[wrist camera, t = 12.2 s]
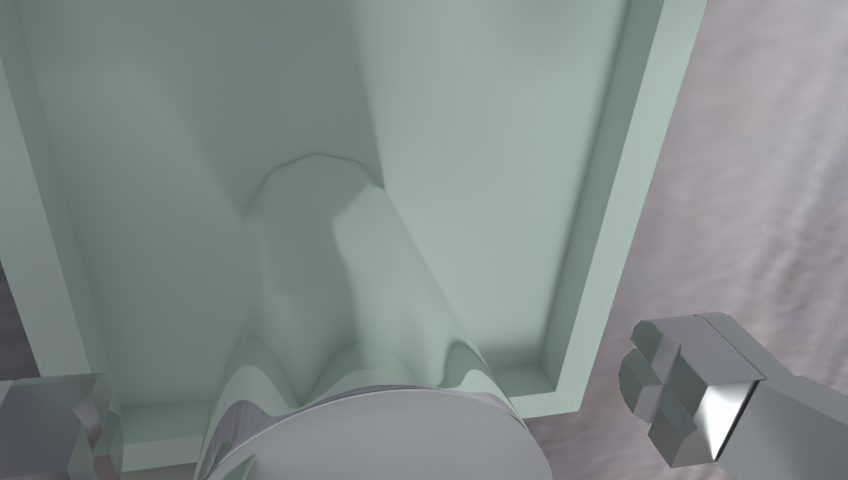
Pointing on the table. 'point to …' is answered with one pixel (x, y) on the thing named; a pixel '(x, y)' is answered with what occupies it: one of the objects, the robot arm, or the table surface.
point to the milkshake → (350, 350)
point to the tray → (329, 136)
